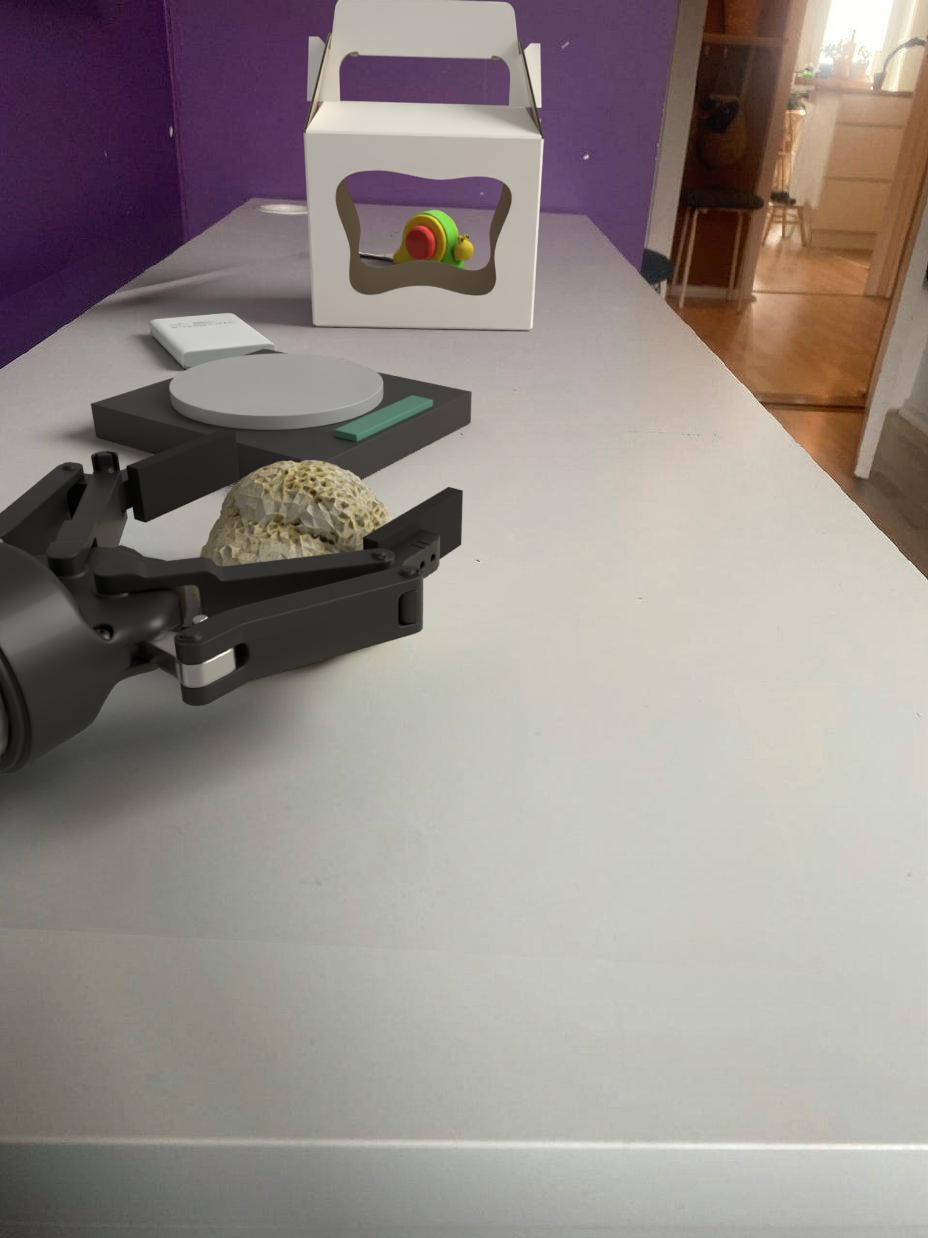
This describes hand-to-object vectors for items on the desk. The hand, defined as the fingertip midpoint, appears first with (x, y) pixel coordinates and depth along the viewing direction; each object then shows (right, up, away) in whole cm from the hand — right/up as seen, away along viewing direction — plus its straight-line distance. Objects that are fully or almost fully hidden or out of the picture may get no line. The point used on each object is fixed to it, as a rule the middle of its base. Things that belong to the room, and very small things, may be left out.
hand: (337, 482), depth 49 cm
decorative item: (-2, -6, +1) cm, 7 cm away
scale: (-7, +7, +24) cm, 26 cm away
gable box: (+2, +25, +56) cm, 62 cm away
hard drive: (-17, +18, +42) cm, 49 cm away
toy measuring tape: (-1, +39, +80) cm, 89 cm away
